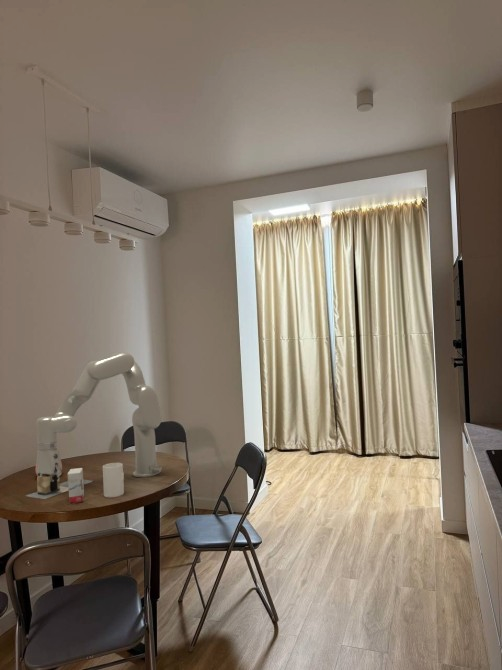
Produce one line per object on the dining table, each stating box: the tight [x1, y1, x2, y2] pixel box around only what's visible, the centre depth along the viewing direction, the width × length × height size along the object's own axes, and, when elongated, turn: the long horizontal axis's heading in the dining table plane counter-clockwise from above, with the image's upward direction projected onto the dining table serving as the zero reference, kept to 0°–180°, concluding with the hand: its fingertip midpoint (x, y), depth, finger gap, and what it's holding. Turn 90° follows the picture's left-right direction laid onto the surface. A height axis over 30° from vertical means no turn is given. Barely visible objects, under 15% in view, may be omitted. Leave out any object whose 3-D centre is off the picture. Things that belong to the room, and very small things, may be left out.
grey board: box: [25, 479, 94, 500], centre depth 205 cm, size 12×26×1 cm, turn 152°
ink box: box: [67, 467, 85, 505], centre depth 191 cm, size 9×5×12 cm, turn 13°
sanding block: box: [36, 474, 61, 495], centre depth 200 cm, size 5×7×7 cm
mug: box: [102, 462, 125, 498], centre depth 198 cm, size 8×12×12 cm
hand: (49, 489), depth 200 cm, fingers closed on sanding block, 5 cm apart
